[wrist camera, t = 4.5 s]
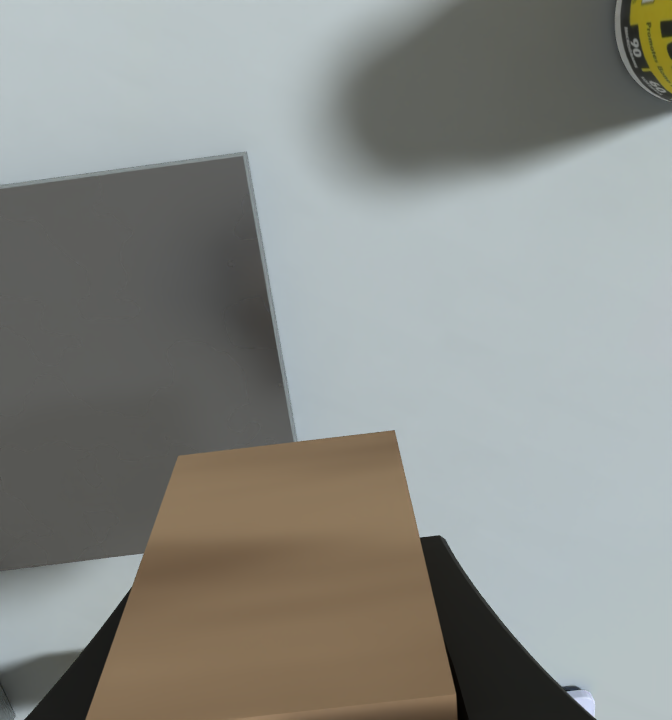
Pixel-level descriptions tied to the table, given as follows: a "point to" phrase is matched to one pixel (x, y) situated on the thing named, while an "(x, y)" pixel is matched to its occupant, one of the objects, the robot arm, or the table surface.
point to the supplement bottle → (646, 43)
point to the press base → (127, 350)
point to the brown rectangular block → (282, 593)
